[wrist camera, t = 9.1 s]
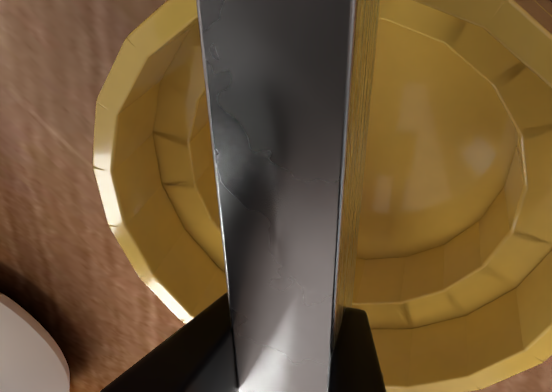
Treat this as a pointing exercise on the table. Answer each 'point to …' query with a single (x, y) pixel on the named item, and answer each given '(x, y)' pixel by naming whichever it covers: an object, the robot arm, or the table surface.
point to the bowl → (370, 184)
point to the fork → (288, 174)
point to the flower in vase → (28, 353)
